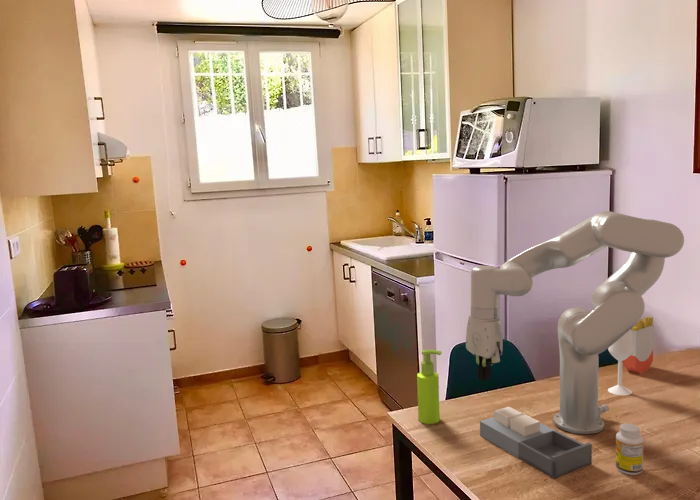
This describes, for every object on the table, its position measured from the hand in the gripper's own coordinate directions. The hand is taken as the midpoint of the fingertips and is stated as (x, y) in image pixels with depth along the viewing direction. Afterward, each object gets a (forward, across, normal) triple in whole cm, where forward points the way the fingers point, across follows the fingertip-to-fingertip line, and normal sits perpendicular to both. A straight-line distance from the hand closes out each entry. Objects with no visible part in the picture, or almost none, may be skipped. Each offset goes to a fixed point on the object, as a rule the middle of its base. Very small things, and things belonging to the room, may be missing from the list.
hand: (484, 378), depth 154 cm
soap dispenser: (+14, -10, -10) cm, 20 cm away
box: (+13, +24, +1) cm, 27 cm away
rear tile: (+9, +8, +1) cm, 12 cm away
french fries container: (+12, -4, +69) cm, 70 cm away
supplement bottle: (+12, +36, +12) cm, 40 cm away
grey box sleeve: (+13, +12, +1) cm, 17 cm away
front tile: (+9, +14, +1) cm, 17 cm away
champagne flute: (+12, +5, +49) cm, 51 cm away
